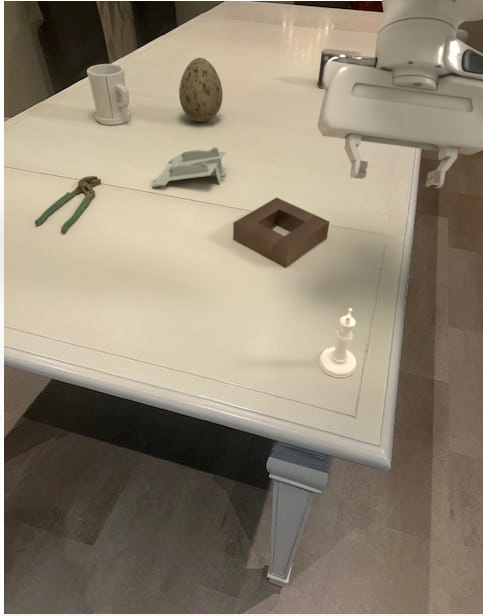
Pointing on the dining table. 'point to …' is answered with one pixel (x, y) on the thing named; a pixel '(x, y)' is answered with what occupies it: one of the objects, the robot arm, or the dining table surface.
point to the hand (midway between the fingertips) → (396, 182)
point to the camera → (328, 55)
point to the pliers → (82, 187)
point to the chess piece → (340, 351)
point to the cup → (109, 93)
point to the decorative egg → (200, 91)
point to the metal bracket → (193, 166)
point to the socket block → (274, 245)
